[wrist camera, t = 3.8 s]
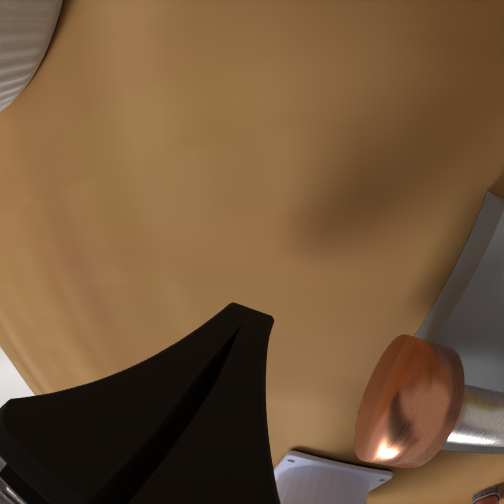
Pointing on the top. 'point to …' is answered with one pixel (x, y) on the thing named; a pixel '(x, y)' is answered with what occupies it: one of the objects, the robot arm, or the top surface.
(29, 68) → the ramekin
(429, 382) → the shaft
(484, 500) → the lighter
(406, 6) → the top surface
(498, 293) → the housing
